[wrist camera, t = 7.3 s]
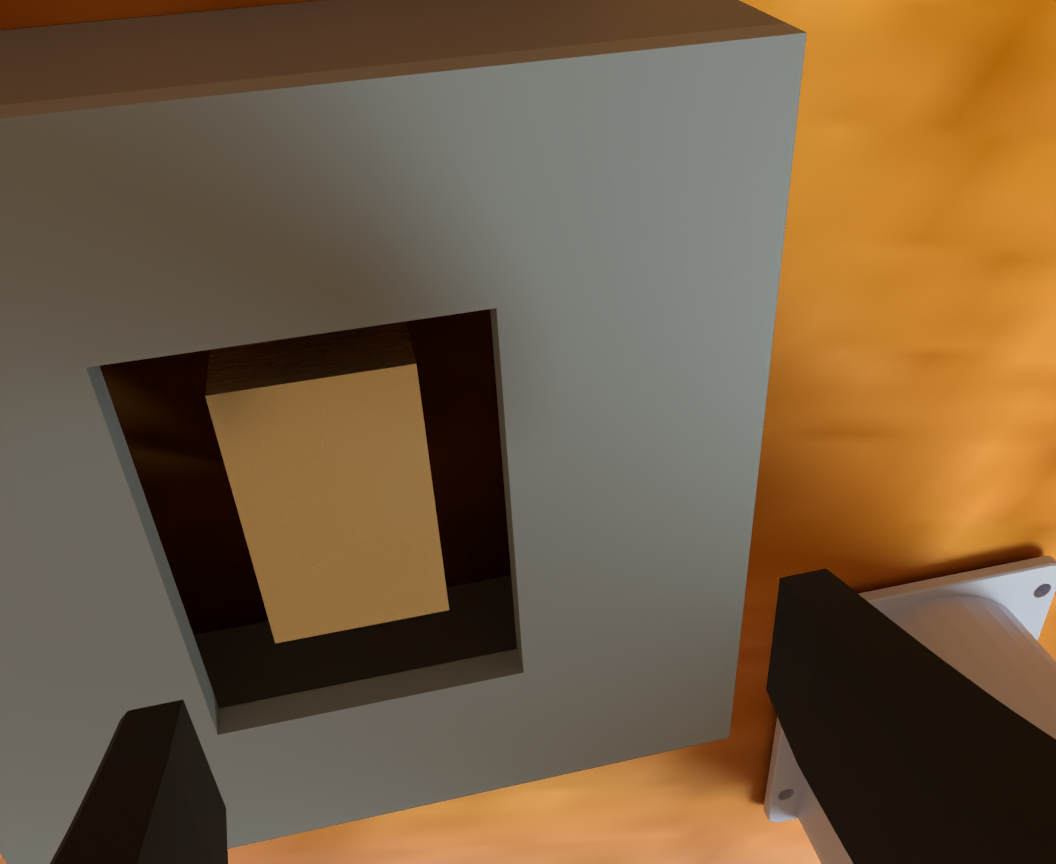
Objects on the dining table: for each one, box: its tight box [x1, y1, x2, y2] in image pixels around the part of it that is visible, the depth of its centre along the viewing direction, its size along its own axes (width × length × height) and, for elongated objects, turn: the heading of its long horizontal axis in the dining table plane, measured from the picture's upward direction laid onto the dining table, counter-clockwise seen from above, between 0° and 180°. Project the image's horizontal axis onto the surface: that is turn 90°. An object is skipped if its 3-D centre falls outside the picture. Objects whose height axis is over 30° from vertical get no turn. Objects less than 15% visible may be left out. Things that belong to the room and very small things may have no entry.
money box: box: [0, 0, 806, 864], centre depth 17 cm, size 14×14×5 cm
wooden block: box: [205, 321, 449, 643], centre depth 17 cm, size 5×3×5 cm, turn 3°
